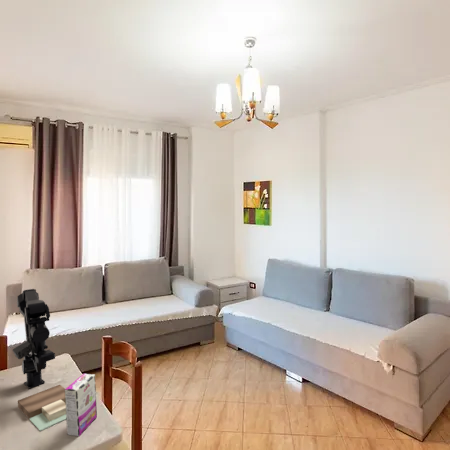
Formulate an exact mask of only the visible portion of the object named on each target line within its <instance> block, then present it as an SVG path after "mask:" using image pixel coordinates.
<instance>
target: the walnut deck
mask: <svg viewBox="0 0 450 450" xmlns="http://www.w3.org/2000/svg"><path fill="white" fill-rule="evenodd" d="M65 389H66V388H65V387H64V386H62V385H61V384H57V385H54V386H52V387H49V388H48V389H44V390H42V391H39V392H37V393H34V394H31V395H29V396H26V397H24V398H21V399H18V400H17V408H19V410H20V411H21V412H22V413H23V414H24V416H25V417H26V418H27V419H29V418H32V417H34V416H36V415H39V414H41V413H42V407H44V406H46V405H49V404H51V403H53V402H56V401H58V400H62V401H63V402H65Z"/></svg>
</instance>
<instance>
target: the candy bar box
mask: <svg viewBox="0 0 450 450" xmlns="http://www.w3.org/2000/svg"><path fill="white" fill-rule="evenodd" d="M96 388H97V387H96V374H91V373H82V374H81V375H80V376H79V377H78V378H76V379H75V380H74V381H73V382H71V384H69V385H68V386H67V387H66V388H65V403H66V420H65V421H66V435H67V436H73V437H80V436H82V434H83V433H84V432H85V431H86V430H87V428H89V426H91V424H92V423H93V422H94V421H95V420H96V419H97V417H98V413H97V410H98V409H97V389H96Z"/></svg>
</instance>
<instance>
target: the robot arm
mask: <svg viewBox="0 0 450 450" xmlns="http://www.w3.org/2000/svg"><path fill="white" fill-rule="evenodd" d="M16 308H18V312H19V313H20V314H21V315H22V316H23V322H24V330H25V342H23V343H21V344H19V345H18V346H16V347H14V348H13V349H12V352H13V354H14V356H15V358H17V359H18V360H22V363H21V368H22V369H21V371H22V373H23V375H26V381H24V382H23V385H25V386H26V387H27V389H33V388H34V387H37V386H39V385H40V386H41V385H43V384H45V383H46V381H45V380H44V379H42V378H43V376H42V373H43V372H42V370H45V369H46V368H47V362H49V361H52V360H55V359H56V353H55V352H54V351H52V350H50V349H48V348H49V347H48V345H47V343H46V340H48V339H49V337H50V330H49V328H48V327H47V324H46V322H48V321H50V317H51V313H50V308H49V305H48V304H47V303H46V302H45V301H44V300H42V299H40V297H39V292H37V290H36V289H35V288H29V289H24V290H22V293H20V294H19V295H17V297H16Z"/></svg>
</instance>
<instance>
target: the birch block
mask: <svg viewBox="0 0 450 450" xmlns="http://www.w3.org/2000/svg"><path fill="white" fill-rule="evenodd" d="M42 414H43V415H44V416H45V417H46V418H47V419H48V420H49V421H52V420H54V419H56V418H58V417H61V416H63V415H65V414H66V403H65V402H63V401H62V400H58V401H56V402H53V403H51V404H49V405H46V406H44V407H42Z"/></svg>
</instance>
